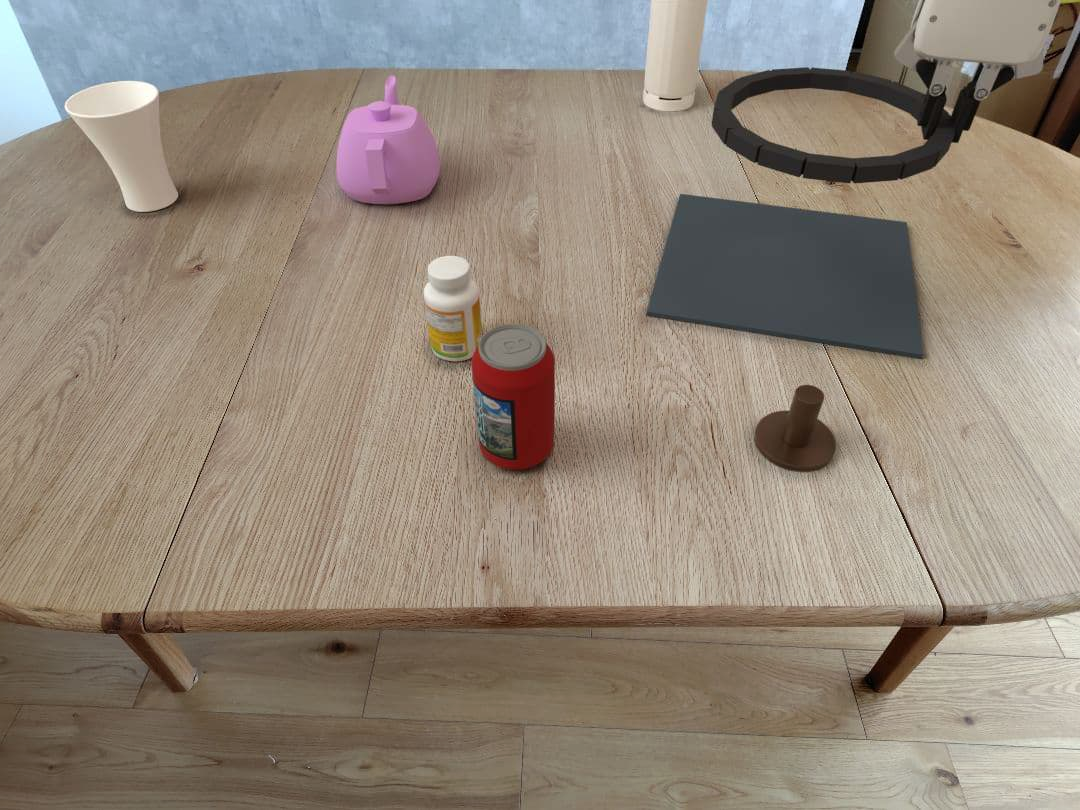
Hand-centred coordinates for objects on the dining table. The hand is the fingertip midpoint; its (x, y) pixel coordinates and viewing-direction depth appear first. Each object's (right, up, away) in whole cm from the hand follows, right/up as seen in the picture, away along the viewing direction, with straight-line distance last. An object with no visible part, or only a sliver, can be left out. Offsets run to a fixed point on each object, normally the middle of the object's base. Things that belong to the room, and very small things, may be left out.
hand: (939, 133), depth 71 cm
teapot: (-57, +5, +32) cm, 66 cm away
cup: (-88, +2, +30) cm, 93 cm away
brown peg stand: (-14, -29, -2) cm, 32 cm away
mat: (-9, -9, +17) cm, 22 cm away
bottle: (-17, +23, +51) cm, 58 cm away
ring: (-10, +1, +2) cm, 10 cm away
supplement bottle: (-46, -19, +8) cm, 50 cm away
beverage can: (-39, -29, -2) cm, 49 cm away
